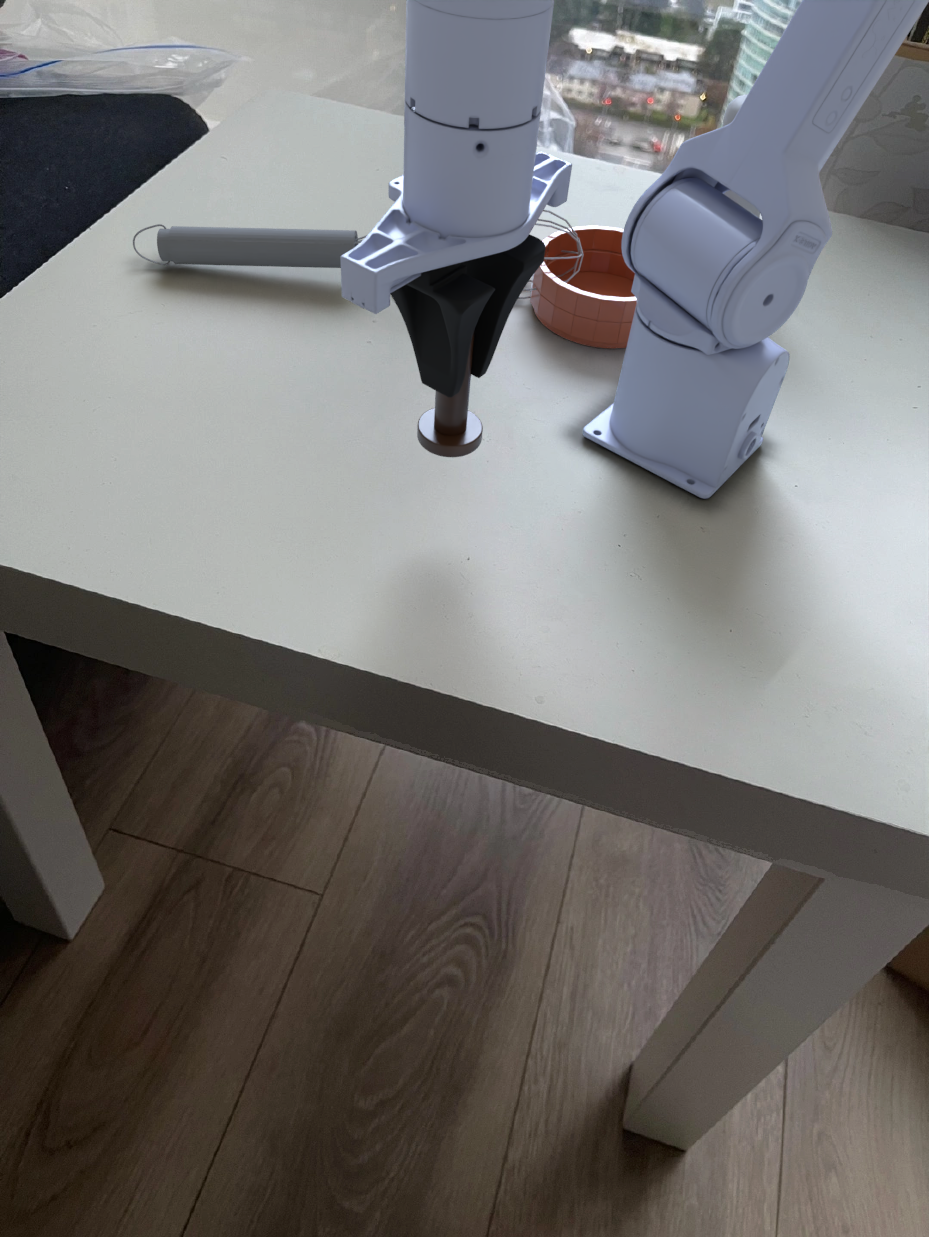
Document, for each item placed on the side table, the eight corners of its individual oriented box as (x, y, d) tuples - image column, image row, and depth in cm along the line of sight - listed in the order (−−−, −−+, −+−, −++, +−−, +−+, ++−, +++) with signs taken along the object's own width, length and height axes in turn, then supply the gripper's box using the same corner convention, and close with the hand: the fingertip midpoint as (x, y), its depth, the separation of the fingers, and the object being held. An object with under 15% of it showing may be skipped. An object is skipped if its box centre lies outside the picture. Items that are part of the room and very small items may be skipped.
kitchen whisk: (145, 239, 74) (130, 157, 70) (574, 278, 76) (587, 200, 71) (124, 280, 70) (107, 196, 66) (577, 320, 72) (592, 240, 67)
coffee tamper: (494, 435, 53) (510, 292, 46) (454, 466, 51) (465, 322, 45) (444, 408, 54) (453, 265, 48) (403, 438, 52) (406, 293, 46)
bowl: (695, 310, 74) (708, 262, 71) (621, 368, 68) (632, 319, 65) (580, 259, 78) (588, 211, 75) (501, 310, 72) (506, 260, 69)
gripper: (500, 34, 45) (477, 295, 55) (278, 121, 37) (300, 407, 47) (626, 78, 42) (578, 343, 53) (417, 182, 35) (409, 470, 45)
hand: (454, 377), depth 50 cm, fingers closed on coffee tamper, 2 cm apart
